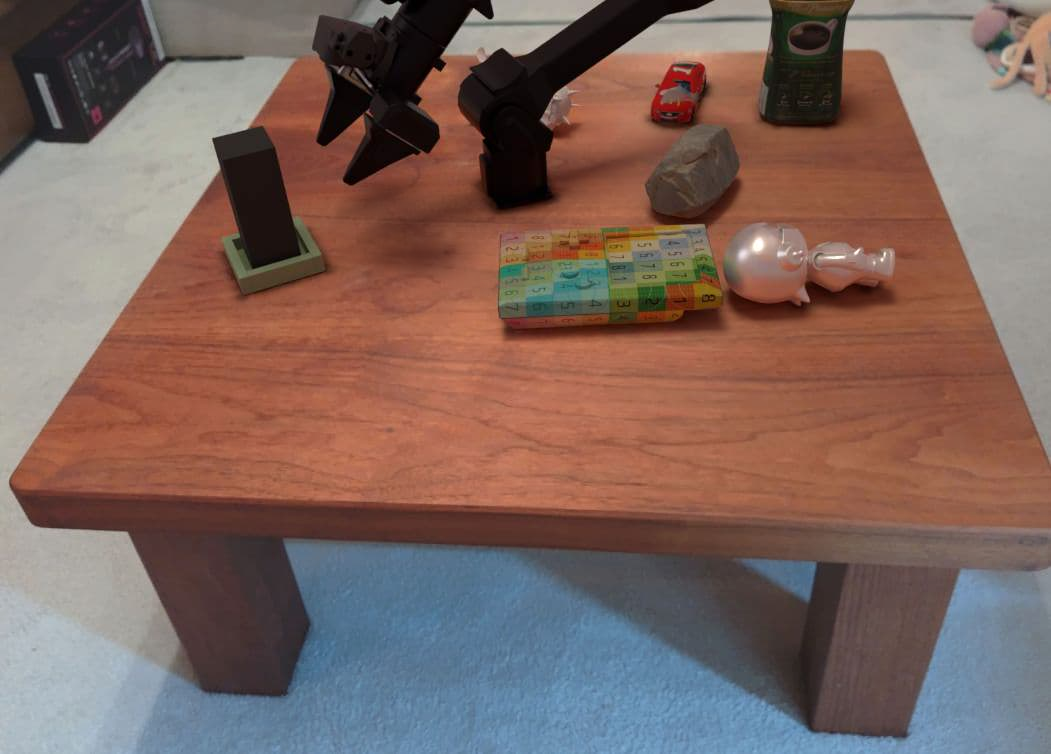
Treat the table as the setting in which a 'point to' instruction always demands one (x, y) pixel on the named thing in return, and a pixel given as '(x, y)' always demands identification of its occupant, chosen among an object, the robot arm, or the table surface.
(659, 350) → the table surface
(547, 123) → the robot toy
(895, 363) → the table surface
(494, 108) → the robot arm
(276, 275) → the green square tray
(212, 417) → the table surface
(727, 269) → the figurine
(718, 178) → the stone
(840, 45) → the coffee jar
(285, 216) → the tall black rectangular block
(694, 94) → the race car
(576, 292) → the puzzle game
